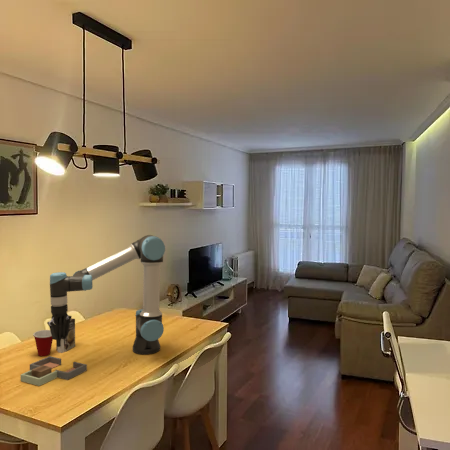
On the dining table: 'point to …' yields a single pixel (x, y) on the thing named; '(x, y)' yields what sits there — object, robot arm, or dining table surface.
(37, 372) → the walnut block
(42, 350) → the plastic cup
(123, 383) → the dining table surface
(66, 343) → the coffee box
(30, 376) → the channel
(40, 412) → the dining table surface
